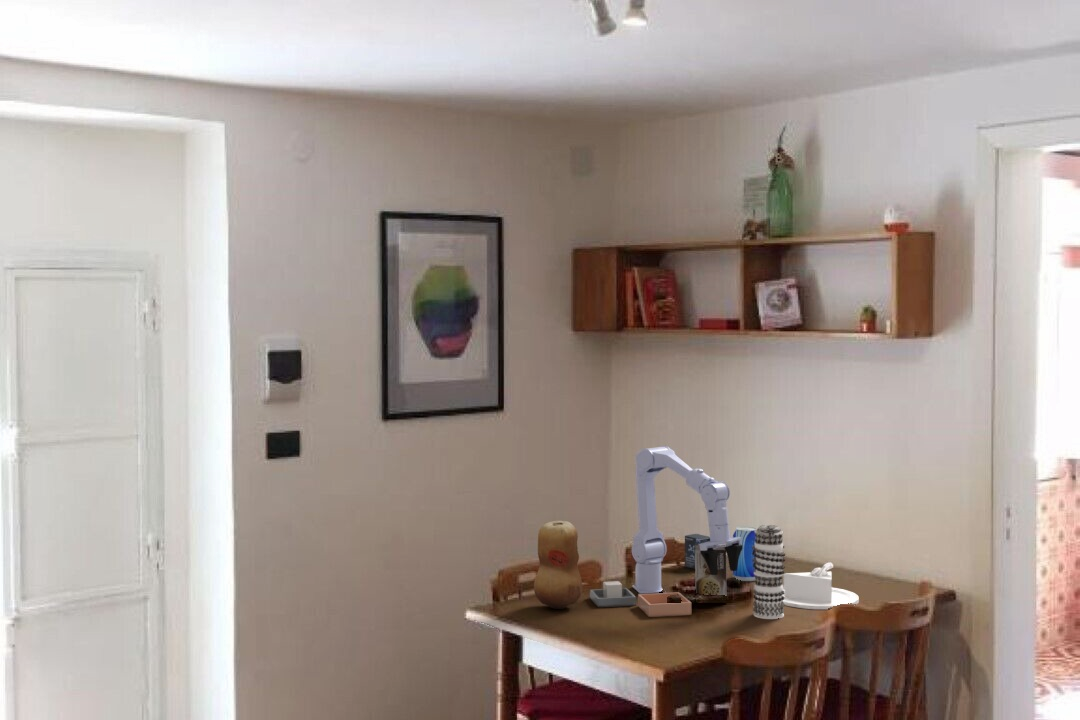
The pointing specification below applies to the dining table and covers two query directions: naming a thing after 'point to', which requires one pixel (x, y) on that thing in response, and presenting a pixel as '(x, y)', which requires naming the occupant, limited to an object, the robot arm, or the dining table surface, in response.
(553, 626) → the dining table surface
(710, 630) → the dining table surface
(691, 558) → the box
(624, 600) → the tray
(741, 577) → the beer can
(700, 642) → the dining table surface
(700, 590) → the coffee box
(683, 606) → the bin
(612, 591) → the white cube
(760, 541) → the decorative candle
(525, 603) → the dining table surface
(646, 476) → the robot arm
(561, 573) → the butternut squash
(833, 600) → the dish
